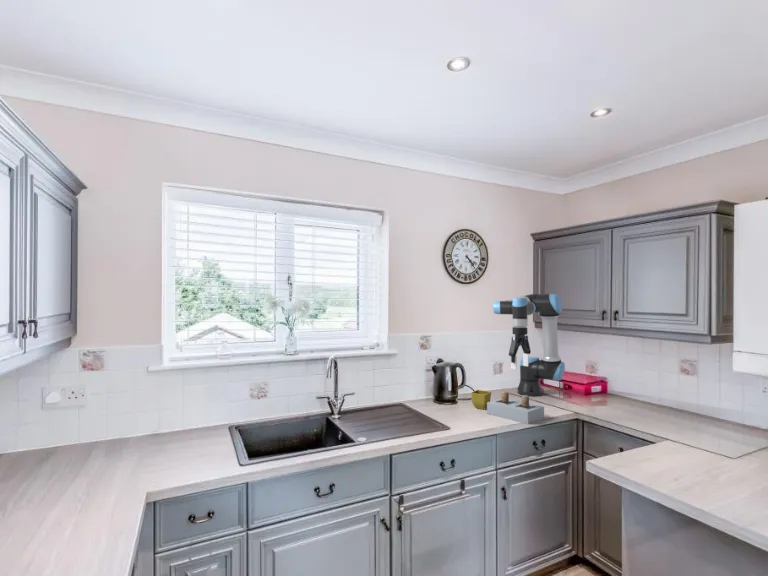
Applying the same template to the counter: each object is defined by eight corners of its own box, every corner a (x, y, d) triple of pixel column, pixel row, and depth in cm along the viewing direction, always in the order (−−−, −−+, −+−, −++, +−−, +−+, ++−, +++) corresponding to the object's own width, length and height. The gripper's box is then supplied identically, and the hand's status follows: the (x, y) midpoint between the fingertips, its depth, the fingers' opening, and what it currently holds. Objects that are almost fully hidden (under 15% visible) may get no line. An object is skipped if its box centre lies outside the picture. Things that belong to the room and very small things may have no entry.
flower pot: (485, 411, 233) (485, 394, 233) (470, 408, 238) (470, 392, 238) (491, 407, 240) (491, 391, 240) (477, 405, 245) (477, 389, 245)
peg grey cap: (524, 407, 222) (524, 394, 222) (530, 408, 219) (530, 396, 219) (520, 408, 219) (520, 395, 219) (526, 409, 217) (526, 397, 217)
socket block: (504, 408, 238) (503, 397, 238) (544, 417, 220) (544, 405, 220) (487, 413, 227) (487, 402, 228) (527, 424, 209) (527, 411, 209)
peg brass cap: (504, 402, 231) (504, 390, 231) (510, 403, 228) (510, 392, 228) (500, 403, 228) (500, 391, 228) (506, 405, 226) (506, 393, 226)
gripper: (523, 325, 234) (523, 364, 233) (501, 327, 216) (501, 369, 215) (537, 326, 229) (537, 365, 228) (515, 328, 211) (515, 371, 210)
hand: (519, 367), depth 222 cm, fingers open, 13 cm apart
